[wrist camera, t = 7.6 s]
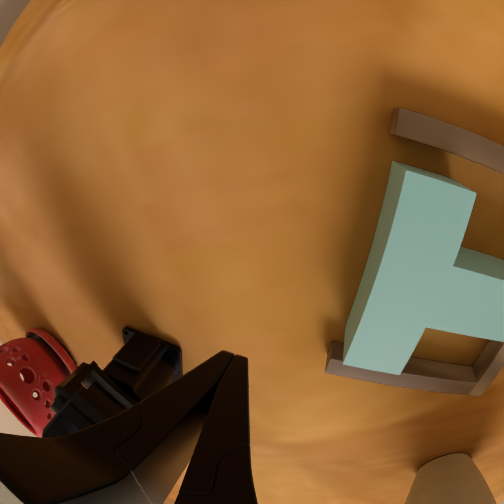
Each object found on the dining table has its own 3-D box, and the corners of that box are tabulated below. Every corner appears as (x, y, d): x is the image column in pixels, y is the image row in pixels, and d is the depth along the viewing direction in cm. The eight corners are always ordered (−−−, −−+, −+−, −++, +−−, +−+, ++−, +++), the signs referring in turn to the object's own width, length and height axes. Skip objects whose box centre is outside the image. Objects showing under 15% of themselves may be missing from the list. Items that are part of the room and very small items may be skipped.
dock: (475, 380, 20) (480, 396, 18) (327, 354, 23) (324, 372, 21) (565, 183, 12) (580, 190, 10) (393, 109, 15) (399, 107, 13)
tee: (476, 352, 19) (489, 386, 15) (345, 326, 21) (342, 364, 18) (539, 213, 14) (569, 233, 10) (392, 160, 16) (406, 170, 12)
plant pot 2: (48, 311, 33) (-15, 363, 22) (103, 389, 36) (54, 447, 25) (19, 323, 38) (-29, 363, 27) (63, 386, 41) (23, 430, 31)
